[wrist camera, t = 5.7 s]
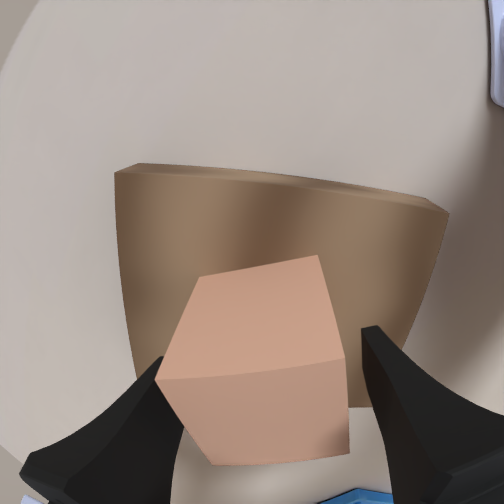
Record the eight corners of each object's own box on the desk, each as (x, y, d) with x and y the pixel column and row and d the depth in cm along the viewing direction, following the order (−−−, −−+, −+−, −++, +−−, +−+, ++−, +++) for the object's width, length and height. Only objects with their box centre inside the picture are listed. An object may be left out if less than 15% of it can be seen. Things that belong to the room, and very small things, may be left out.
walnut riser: (425, 198, 14) (449, 213, 11) (364, 378, 18) (372, 407, 16) (138, 163, 14) (114, 172, 12) (150, 355, 19) (138, 382, 16)
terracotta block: (317, 255, 12) (345, 357, 7) (331, 347, 14) (349, 453, 9) (199, 277, 13) (154, 379, 8) (231, 362, 15) (212, 465, 10)
